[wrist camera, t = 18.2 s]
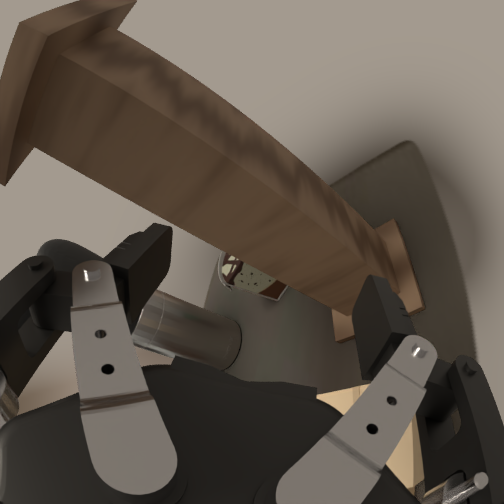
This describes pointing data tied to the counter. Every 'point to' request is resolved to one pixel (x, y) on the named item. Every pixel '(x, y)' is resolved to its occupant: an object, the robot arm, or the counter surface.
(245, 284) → the food container
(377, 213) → the counter surface
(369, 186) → the counter surface
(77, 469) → the robot arm
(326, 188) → the walnut stand
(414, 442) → the wooden mallet
